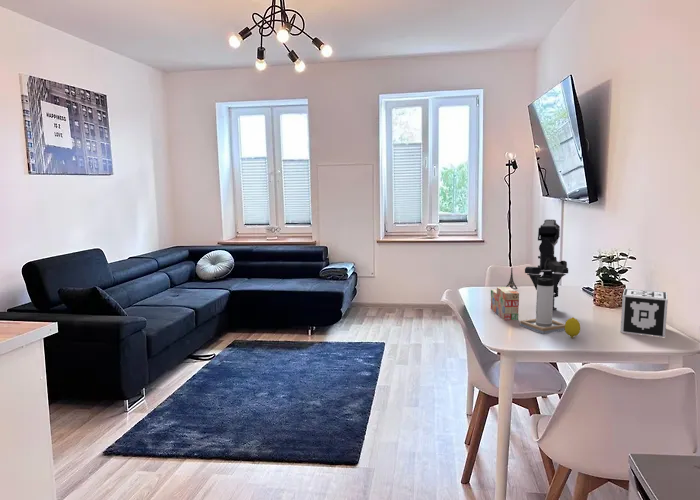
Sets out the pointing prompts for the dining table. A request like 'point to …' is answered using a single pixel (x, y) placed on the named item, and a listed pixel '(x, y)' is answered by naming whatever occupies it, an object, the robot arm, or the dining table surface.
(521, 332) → the dining table surface
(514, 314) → the stack of blocks
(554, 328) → the square wooden frame
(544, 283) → the travel mug
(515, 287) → the eiffel tower figurine
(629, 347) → the dining table surface
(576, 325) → the lemon
